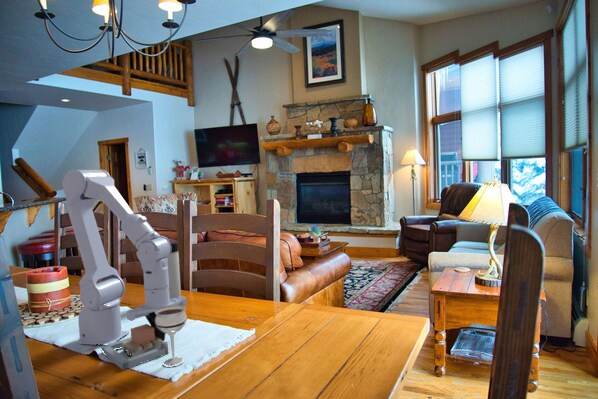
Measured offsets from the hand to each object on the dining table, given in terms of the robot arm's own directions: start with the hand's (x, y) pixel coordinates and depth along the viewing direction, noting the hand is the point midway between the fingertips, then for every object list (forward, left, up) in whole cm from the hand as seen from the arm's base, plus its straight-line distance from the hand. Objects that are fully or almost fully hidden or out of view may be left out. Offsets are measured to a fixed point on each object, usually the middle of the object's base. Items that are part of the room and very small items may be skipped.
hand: (160, 340), depth 101 cm
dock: (-3, -5, -1) cm, 6 cm away
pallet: (-2, -4, -1) cm, 5 cm away
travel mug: (-15, +32, -1) cm, 36 cm away
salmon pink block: (-2, -4, +1) cm, 4 cm away
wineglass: (+8, -8, -1) cm, 12 cm away
